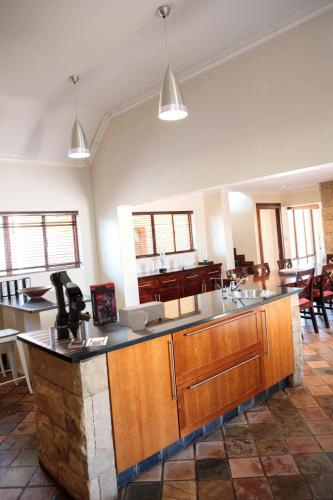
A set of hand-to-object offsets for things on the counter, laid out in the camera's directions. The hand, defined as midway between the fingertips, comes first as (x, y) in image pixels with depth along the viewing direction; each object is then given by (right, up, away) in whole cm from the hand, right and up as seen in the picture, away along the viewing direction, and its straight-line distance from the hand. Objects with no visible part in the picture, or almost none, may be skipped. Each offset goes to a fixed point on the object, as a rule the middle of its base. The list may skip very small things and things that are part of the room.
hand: (76, 337), depth 205 cm
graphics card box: (+7, -3, +53) cm, 53 cm away
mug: (+33, -2, +28) cm, 43 cm away
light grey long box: (+33, -1, +53) cm, 62 cm away
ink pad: (0, -5, 0) cm, 5 cm away
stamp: (0, -3, 0) cm, 3 cm away
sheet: (+10, -4, +5) cm, 12 cm away
